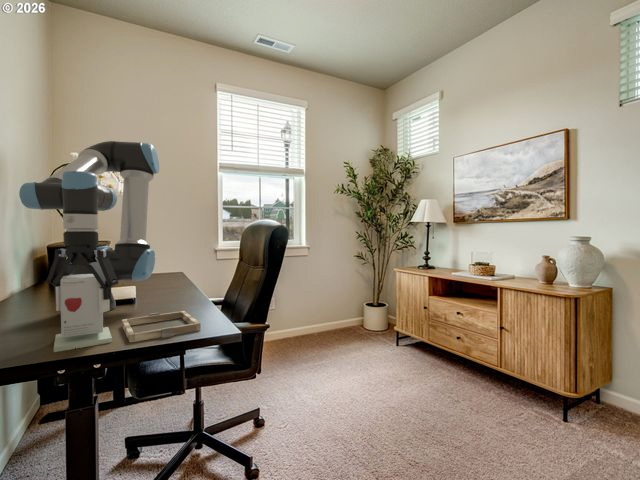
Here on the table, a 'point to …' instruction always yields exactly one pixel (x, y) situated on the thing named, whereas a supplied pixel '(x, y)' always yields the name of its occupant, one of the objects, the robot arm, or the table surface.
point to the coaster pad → (82, 340)
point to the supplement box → (80, 305)
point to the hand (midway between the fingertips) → (83, 310)
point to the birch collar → (163, 332)
